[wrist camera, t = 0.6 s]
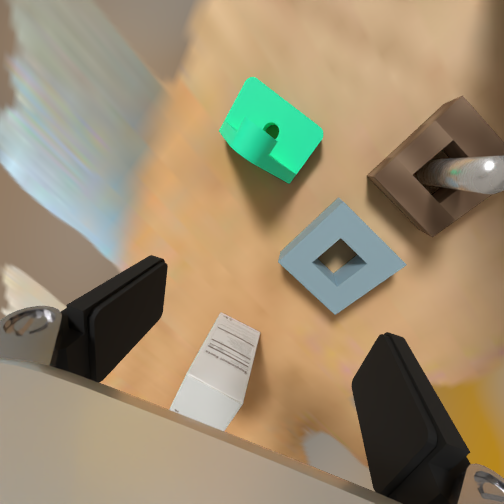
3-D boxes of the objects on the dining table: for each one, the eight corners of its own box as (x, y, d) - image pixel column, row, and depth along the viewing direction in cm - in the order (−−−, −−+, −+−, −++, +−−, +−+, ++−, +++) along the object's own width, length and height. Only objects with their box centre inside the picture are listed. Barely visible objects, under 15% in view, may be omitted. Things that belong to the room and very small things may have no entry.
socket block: (338, 197, 34) (343, 201, 29) (394, 253, 35) (406, 264, 31) (280, 251, 38) (278, 261, 34) (331, 299, 39) (335, 314, 35)
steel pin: (434, 153, 30) (503, 147, 19) (450, 171, 30) (527, 173, 20) (411, 173, 31) (465, 176, 21) (427, 190, 31) (487, 201, 21)
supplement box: (243, 361, 48) (219, 440, 34) (205, 341, 48) (166, 411, 35) (262, 332, 45) (244, 406, 31) (221, 310, 45) (185, 374, 31)
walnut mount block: (444, 104, 28) (462, 95, 24) (502, 168, 29) (527, 169, 26) (366, 175, 32) (374, 176, 29) (419, 230, 33) (432, 236, 30)
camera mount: (325, 134, 31) (335, 121, 22) (290, 182, 34) (285, 189, 25) (253, 80, 31) (232, 42, 21) (224, 133, 34) (195, 120, 24)
